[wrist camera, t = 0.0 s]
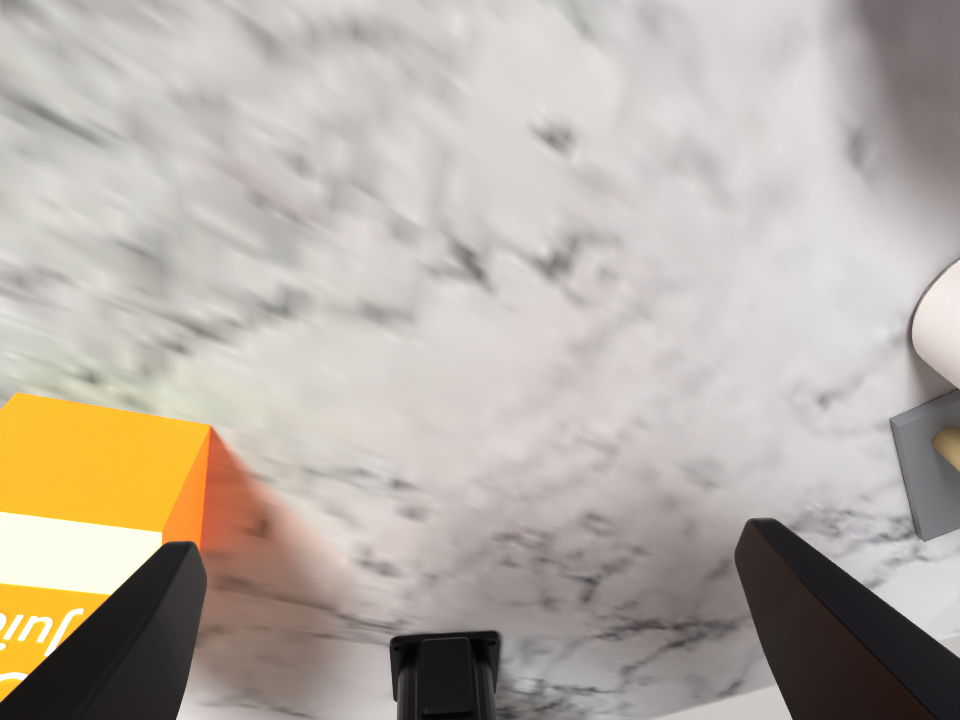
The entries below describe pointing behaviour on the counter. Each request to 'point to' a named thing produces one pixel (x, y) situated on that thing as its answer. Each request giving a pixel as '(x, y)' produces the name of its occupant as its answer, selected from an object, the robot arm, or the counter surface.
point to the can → (940, 324)
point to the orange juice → (84, 513)
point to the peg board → (931, 463)
